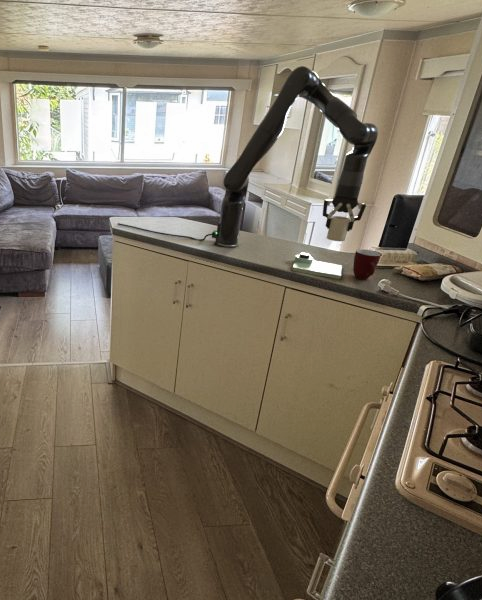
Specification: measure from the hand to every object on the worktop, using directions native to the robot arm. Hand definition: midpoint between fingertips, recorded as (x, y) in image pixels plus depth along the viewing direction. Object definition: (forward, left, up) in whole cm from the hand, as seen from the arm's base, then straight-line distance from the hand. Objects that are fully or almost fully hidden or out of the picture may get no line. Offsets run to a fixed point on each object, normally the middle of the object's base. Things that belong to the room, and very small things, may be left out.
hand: (337, 229), depth 159 cm
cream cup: (0, 0, -4) cm, 4 cm away
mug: (+12, -2, -17) cm, 21 cm away
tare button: (-9, +4, -14) cm, 18 cm away
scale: (-4, 0, -17) cm, 17 cm away
